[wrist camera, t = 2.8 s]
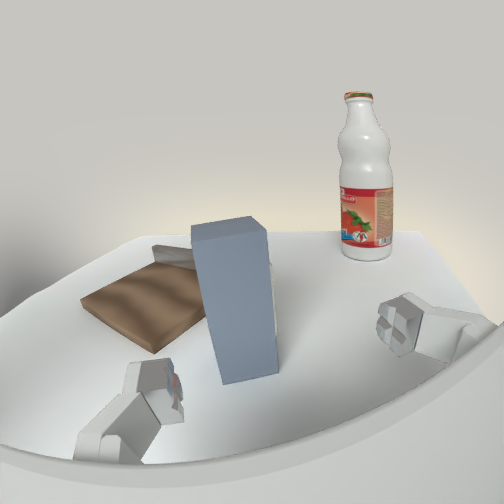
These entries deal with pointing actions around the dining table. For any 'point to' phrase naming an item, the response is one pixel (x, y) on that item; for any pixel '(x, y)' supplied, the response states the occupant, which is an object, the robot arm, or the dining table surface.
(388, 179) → the fruit juice
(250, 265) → the carton
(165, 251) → the shelf board
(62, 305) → the dining table surface
